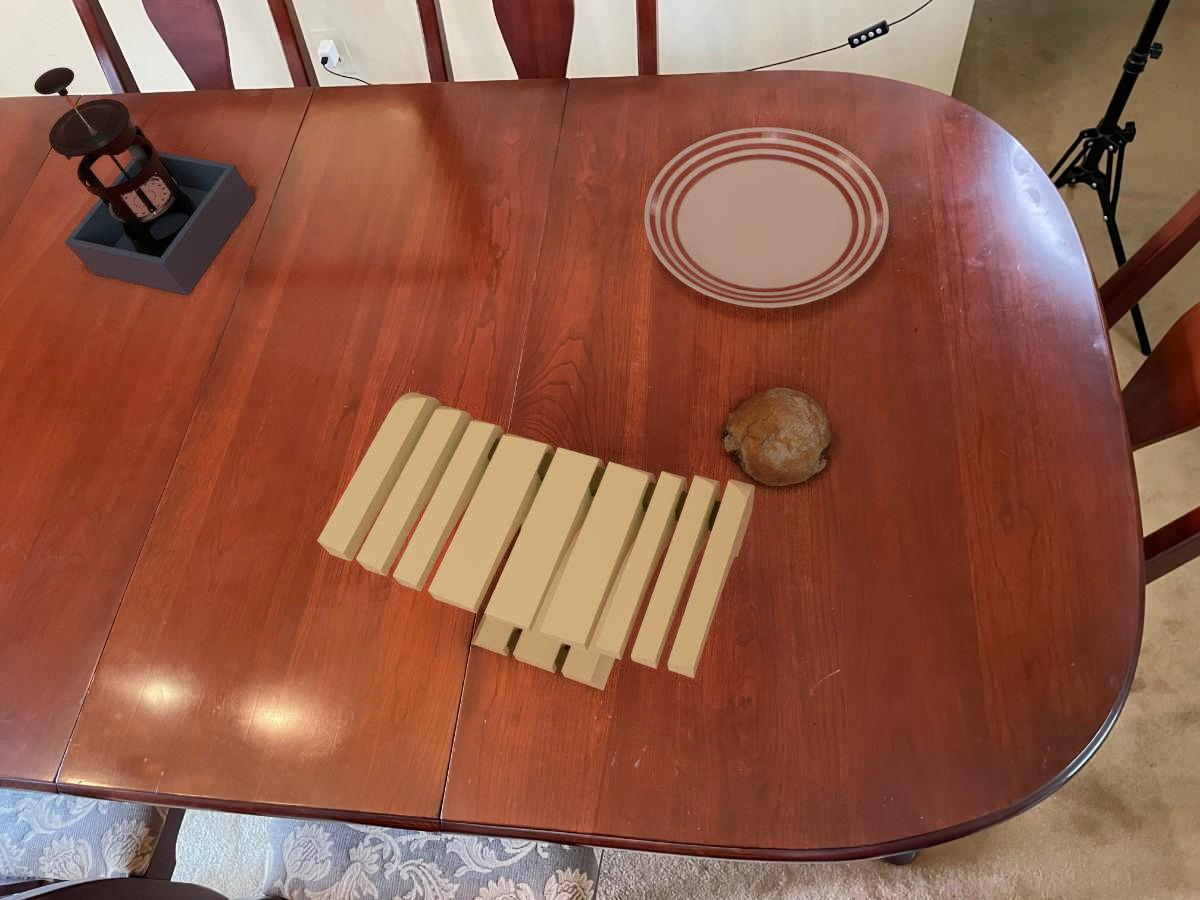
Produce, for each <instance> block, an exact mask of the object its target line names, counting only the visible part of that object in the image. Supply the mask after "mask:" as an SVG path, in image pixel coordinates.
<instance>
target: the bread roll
mask: <svg viewBox="0 0 1200 900" xmlns="http://www.w3.org/2000/svg"><path fill="white" fill-rule="evenodd" d="M727 417H728V419H727V423H726V425H725V429H726V430H724V431H723V432H722V436H721V440H722V442H723V446H724V450H726V453H728V454H729V453H730V452H731V454H732V460H733V461H734V462H735V463H737V464H739V465H740V466H741V469H742V471H743V472H744V473H745V474H747V475H748V476H750V477H751V478H753V480H754V481H757V482H760V483H763V484H765V485H767V486H770V487H775V486H776V487H778V486H780V487H781V486H782V487H785V486H788V485H794V484H799V483H802V482H805V481H807V480H808V479H809V478H811V477H812V476H814V475H815V474H817V473H820V472H821V471H822V470H823V469H825V466H826V465H827V462H828V460H827V459H825V456H826V454H827V453H828V450H829V444H830V443H831V442H832V435H833V424H832V420H831V417H830V415H829V413H828V412H827V410H826V409H825V408H824V407H823V406H822V404H821V403H819V402H818V401H817V399H815V398H813V397H812V396H809V395H808V394H807V393H805V392H802V391H800V390H797V389H794V388H793V389H792V388H788V387H773V388H769V389H765V390H761V391H759V392H756V393H755V394H754V393H753V394H752V395H751V394H750V396H748V397H747V398H743V400H742V402H741V403H740V404H739V406H738V407H737V408H736V409H735V410H734V411H732V412H728V413H727Z"/></svg>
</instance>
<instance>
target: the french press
mask: <svg viewBox="0 0 1200 900" xmlns="http://www.w3.org/2000/svg"><path fill="white" fill-rule="evenodd" d="M74 79H75V73H74V71H73V69H71V68H69V67H65V66H64V67H63V66H62V67H61V66H60V67H55V68H52V69H49V70H47V71H44V72H43V73H42V74H41V75H39V77H38V78H37V79H36V80H35V82H34V84H33V85H34V86H33V87H34V88H33V89H34V91H35V92H36V93H37V94H40V95H44V96H47V95H54V94H56V93H57V94H58V95H59V96H60V97H64V98H65V100H66V101H67V102H68V104H69V105H70V106H71V107H72V108H71V109H69V110H68V111H67V112H65V113H63V115H62V116H61V117H59V118H58V119H57V120H56V121H55V123H54V124H53V126H52V128H51V129H50V131H49V132H50V133H49V135H48V142H49V145H50V147H51V148H52V149H53V151H55V153H57V154H59V155H62V156H64V157H65V158H66V159H67V160H68V161H71V160H72V158H74V157H82V158H81V159H80V161H79V164H78V166H77V169H76V172H77V178H78V180H79V182H80V183H81V184H82V186H84V187H85V189H86V190H87V191H88V192H89V193H90V194H91V195H94V196H95V197H99V199H100V198H101V199H102V201H103V202H104V203H105V204H106V205H107V207H108V208H109V211H110V213H111V215H112V216H113V217H114V218H115V219H116V220H118V221H120V222H121V224H122V230H123V232H124V234H125V235H126V237H127V238H128V239H129V240H130V241H131V243H132V244H133V245H134V247H135V250H136V251H137V253H141V254H145V255H150V256H154V257H159V258H161V256H162V255H163V254H164V252H165V251H166V250H167V248H168V247H169V246H170V244H171V243H172V242H173V240H174V239H175V238H176V236H177V235H178V233H179V232H180V231H181V229H182V228H183V227H184V225H185V224H186V223H187V221H188V220H189V219H190V217H191V216H192V215H193V213H194V212H195V210H196V209H197V207H196V206H195V204H194V203H193V201H192V200H191V198H190V197H189V196H188V195H187V194H185V193H184V192H182V191H181V190H180V188H179V187H178V185H177V184H176V179H175V178H174V176H173V175H172V173H171V172H170V171H169V169H168V168H167V166H166V165H165V164H164V162H163V161H162V159H161V158H160V156H159V154H158V151H159V150H158V149H156V147H155V146H154V144H153V143H152V141H151V140H150V139H149V138H147V136H146V135H145V134H144V132H143V130H141V128H140V126H138V125H135V124H134V123H133V121H132V119H131V113H130V111H129V109H128V107H127V106H126V105H125V104H124V103H123V102H121V101H119V100H115V99H111V98H101V99H100V98H99V99H94V100H90V101H87V102H83V103H81V104H79V105H76V104H75V102H73V101H72V99H71V97H70V96H69V91H68V90H67V88H68V87H69V86H70V85H71V84H72V82H73V81H74ZM126 151H128V153H130V155H131V157H132V158H134V159H135V161H136V162H137V163H138V165H139V166H140V167H141V169H142V171H141V172H140V173H138V174H137V175H136V176H134V177H133V178H130V177H129V175H128V174H127V173H126V171H125V170H124V167H123V166H122V165H121V163H120V162H119V161H118V159H117V158H116V156H120V155H121V154H124V153H125V152H126ZM102 156H109V158H111V160H112V161H113V163H115V165H116V166H117V167H118V169H119V170H120V171H121V172H122V173H123V174H124V175H125V177H126V178H127V179H128V181H126V182H123V183H121V184H118V185H115V186H111V187H110V186H105V184H103V182H101V180H100V179H99V178H98V177H97V175H96V174H95V173H94V171H93V170H92V169H91V168H92V166H93V165H94V164H95V163H96V162H97V160H99V159H100V158H101V157H102ZM175 213H185V214H187V216H188V219H187V220H186V222H185V223H184V224H183V225H182V226H181V227H180V228H179V229H178V230H176V231H175V232H173V233H172V234H170V235H168V236H166V237H164V238H162V239H158V240H155V238H154V237H153V236H152V234H151V233H150V232H149V231H148V229H149V227H150V226H151V225H152V224H153V223H155V222H156V221H157V220H159V219H161V218H162V217H165V216H167V215H170V214H175Z"/></svg>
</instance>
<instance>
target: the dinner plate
mask: <svg viewBox="0 0 1200 900" xmlns="http://www.w3.org/2000/svg"><path fill="white" fill-rule="evenodd" d="M889 210H890V209H889V204H888V199H887V196H886V194H885V192H884V189H883V186H882V185H881V183H880V182H879V180H878V179H877V177H876V175H875V174H874V173H873V171H872V170H871V169H870V168H869V167H868V166H867V164H866V163H864V161H862V160H861V159H860V158H859V157H858V156H857V155H855V154H854V153H852V151H850V150H848V149H846V148H845V147H843V146H841V145H840V144H839V143H836V142H834V141H832V140H830V139H827V138H825V137H822V136H820V135H817V134H813V133H812V132H811V133H810V132H808V131H803V130H799V129H793V128H787V127H777V126H757V127H756V126H755V127H745V128H737V129H732V130H727V131H723V132H720V133H716V134H713V135H711V136H708V137H706V138H703V139H701V140H699V141H696V142H695V143H693V144H690V145H689V146H687V147H686V148H684V149H683V150H681V151H680V152H679V153H678V154H676V155H675V156H674V157H673V158H672V159H670V160H669V161H668V162H667V163H666V164H665V165H664V166H663V168H662V169H661V170H660V171H659V173H658V174H657V175H656V177H655V178H654V180H653V182H652V184H651V186H650V188H649V190H648V193H647V196H646V199H645V204H644V210H643V221H644V223H643V224H644V230H645V234H646V238H647V240H648V243H649V245H650V247H651V249H652V251H653V253H654V254H655V256H656V257H657V259H658V261H660V262H661V264H662V265H663V266H664V267H665V269H667V270H668V271H669V272H670V273H671V274H672V275H673V276H674V277H675V278H677V279H678V280H679V281H680V282H682V283H683V284H685V285H686V286H687V287H689V288H690V289H692V290H695V291H697V292H698V293H701V294H703V295H705V296H707V297H710V298H712V299H715V300H718V301H721V302H725V303H729V304H733V305H736V306H737V305H738V306H743V307H749V308H761V309H762V308H763V309H778V308H787V307H795V306H801V305H805V304H809V303H812V302H815V301H819V300H822V299H825V298H827V297H830V296H831V295H834V294H836V293H838V292H839V291H842V290H844V289H845V288H847V287H848V286H850V285H852V284H853V283H855V281H856V280H858V279H859V278H860V277H861V276H863V274H865V273H866V272H867V270H868V269H869V268H870V267H871V266H872V265H873V264H874V263H875V261H876V260H877V258H878V257H879V255H880V253H881V251H882V250H883V247H884V245H885V243H886V240H887V236H888V234H889V233H888V232H889V226H890V211H889Z"/></svg>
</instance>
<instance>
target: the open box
mask: <svg viewBox="0 0 1200 900" xmlns="http://www.w3.org/2000/svg"><path fill="white" fill-rule="evenodd" d="M157 151H158V154H159V156H160V158H161V159H162V161H163V162H164V164H165V165H166V166H167V168H168V169H169V171H170V172H171V173H172V175H173V176H174V178H175V179H176V184H177V185H178V187H179V188H180V190H181V191H182V192H184V193H185V194H187V195H188V196H189V197H190V198H191V200H192V201H193V203H194V204H195V206H196V207H197V209H196V210H195V212H194V213H193V215H192V216H191V217H190V219H189V220H188V221H187V223H186V224H185V225H184V227H183V228H182V229H181V231H180V232H179V233H178V235H177V236H176V238H175V239H174V240H173V242H172V243H171V244H170V246H169V247H168V248H167V250H166V251H165V252H164V254H163V255H162V256H161V258H159V257H154V256H150V255H145V254H141V253H137V251H136V250H135V247H134V245H133V244H132V243H131V241H130V240H129V239H128V238H127V237H126V235H125V234H124V232H123V230H122V224H121V222H120V221H118V220H116V219H115V218H114V217H113V216H112V215H111V213H110V211H109V208H108V207H107V205H106V204H105V203H104V202H103V201H102V199H101V198H100V197H99V198H98V200H97V202H96V203H95V204H94V205H93V206H92V207H91V209H90V210H89V211H88V212H87V213H86V215H85V216H84V217H83V219H81V221H80V222H79V223H78V225H77V226H76V227H75V228H74V230H72V232H71V233H70V234H69V236H68V237H67V238H66V239H65V240H64V244H65V245H66V246H67V247H68V248H69V250H71V251H72V252H73V254H74V255H75V256H76V257H77V258H78V259H79V260H80V261H81V262H82V263H83V264H84V266H86V267H87V269H88V270H89V271H90V272H91V273H92V274H93V275H96V276H100V277H103V278H109V279H114V280H118V281H122V282H126V283H130V284H135V285H139V286H143V287H148V288H153V289H157V290H161V291H164V292H165V291H167V292H170V293H174V294H179V295H182V296H183V295H184V296H187V297H189V295H190V294H191V293H192V291H193V290H194V288H195V287H196V286H197V284H198V283H199V281H200V280H201V279H202V277H203V276H204V274H205V273H206V271H207V270H208V268H209V267H210V265H211V264H212V263H213V261H214V260H215V258H216V257H217V255H218V254H219V253H220V251H221V250H222V248H223V247H224V246H225V244H226V243H227V241H228V240H229V239H230V238H231V236H232V234H233V233H234V231H236V229H237V227H238V226H239V224H240V223H241V222H242V220H243V219H244V217H245V215H246V214H247V213H248V211H249V210H250V209H251V207H252V206H253V204H254V203H255V201H256V197H255V196H254V194H253V192H252V191H251V189H250V186H248V184H247V182H246V181H245V179H244V177H243V175H242V173H241V172H240V171H239V169H238V167H237V166H236V164H231V163H225V162H219V161H215V160H209V159H204V158H199V157H192V156H186V155H181V154H176V153H169V152H163V151H159V150H157ZM123 169H124V170H125V171H126V173H127V174H128V175H129V177H130V178H133V177H134V176H136V175H137V174H138V173H140V172H141V171H142V169H141V167H140V166H139V165H138V163H137V162H136V161H135V159H134V158H133V157H132V158H131V160H130V161H129V162H128V163H127V165H126V166H125V167H123ZM126 181H128V179H127V178H126V177H125V175H124V174H123V173H122V171H121V172H120V173H119V174H118V175H117V177H116V178H115V179H114V180H113V182H112V183H111V184H110V185H109V187H111V186H115V185H118V184H121V183H123V182H126ZM187 219H188V216H187V214H185V213H175V214H170V215H167V216H165V217H162V218H161V219H159V220H157V221H156V222H155V223H153V224H152V225H151V226H150V227H149V229H148V231H149V232H150V233H151V234H152V236H153V237H154V238H155V240H158V239H162V238H164V237H166V236H168V235H170V234H172V233H173V232H175V231H176V230H178V229H179V228H180V227H181V226H182V225H183V224H184V223H185V222H186V220H187Z"/></svg>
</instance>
